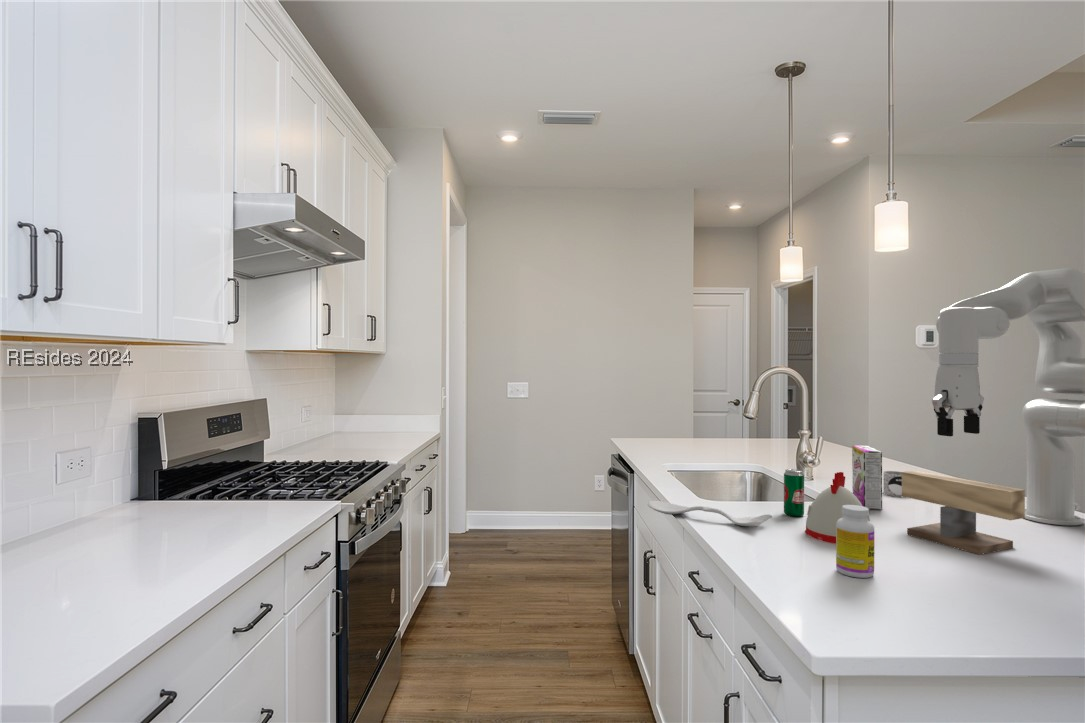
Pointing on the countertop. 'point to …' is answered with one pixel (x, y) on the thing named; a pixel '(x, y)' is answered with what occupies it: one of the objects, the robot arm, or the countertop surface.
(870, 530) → the supplement bottle
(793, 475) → the soda can
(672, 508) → the spoon
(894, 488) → the mug
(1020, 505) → the oak beam
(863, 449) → the candy bar box
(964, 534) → the walnut stand
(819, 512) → the kitchen timer
